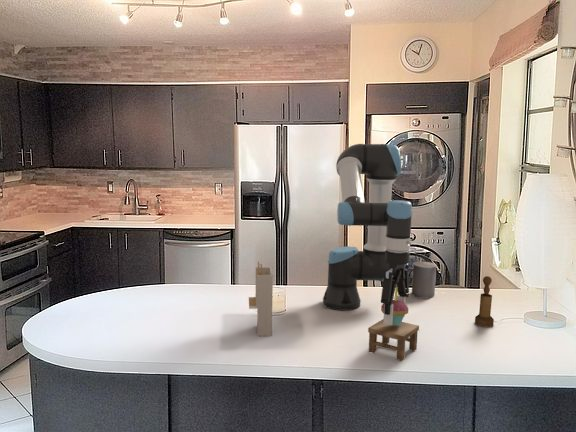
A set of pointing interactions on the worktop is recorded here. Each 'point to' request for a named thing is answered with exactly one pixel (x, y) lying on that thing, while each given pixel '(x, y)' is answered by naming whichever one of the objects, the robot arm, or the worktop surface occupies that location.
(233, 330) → the worktop surface
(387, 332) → the walnut stool
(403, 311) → the cupcake
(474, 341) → the worktop surface
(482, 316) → the brown chess pawn
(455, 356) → the worktop surface
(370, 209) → the robot arm
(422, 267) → the pillar candle
